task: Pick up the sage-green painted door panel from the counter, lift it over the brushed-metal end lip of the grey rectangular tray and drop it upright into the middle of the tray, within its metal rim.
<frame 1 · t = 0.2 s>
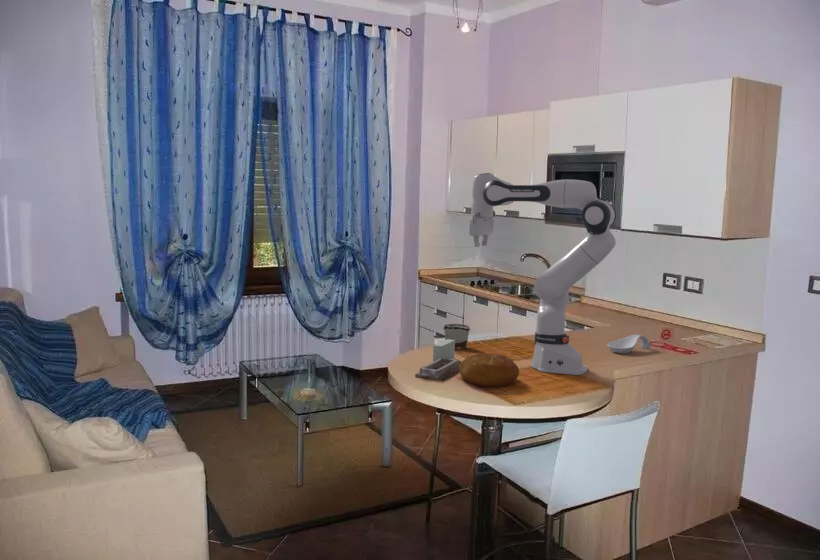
hand: (480, 246, 281), 47 cm above the table, tool pointing down, fingers open, 8 cm apart
bread: (489, 381, 251), on the table
grey rectangular tray: (439, 373, 259), on the table
door panel: (443, 361, 278), on the table
food container: (457, 347, 307), on the table
spoon rest: (629, 351, 307), on the table
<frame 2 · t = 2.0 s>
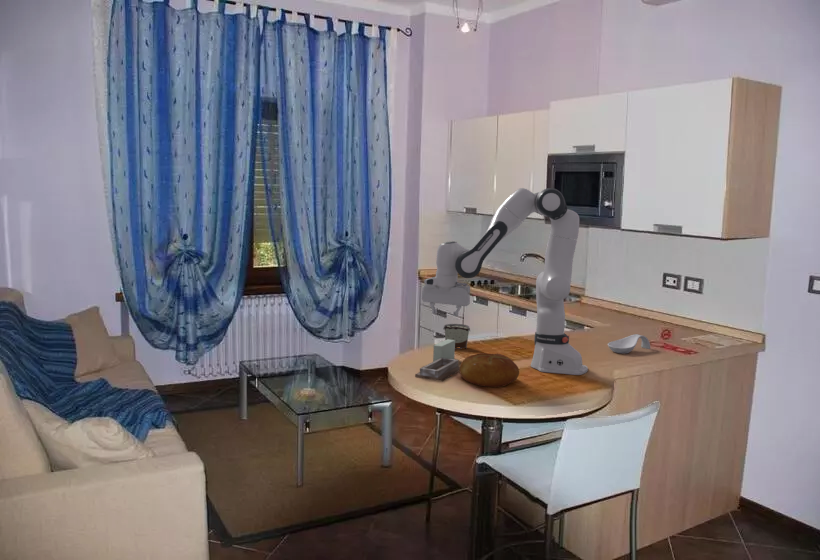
hand: (445, 314, 276), 19 cm above the table, tool pointing down, fingers open, 8 cm apart
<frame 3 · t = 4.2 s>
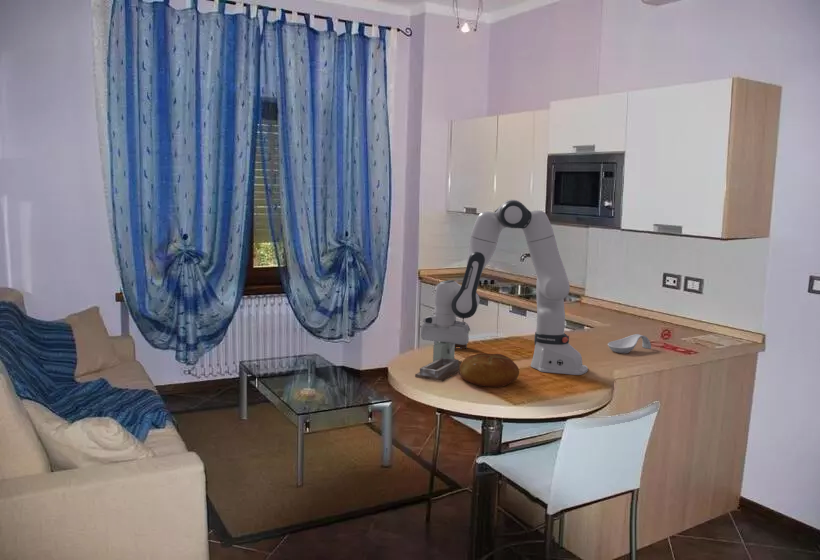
hand: (444, 352, 278), 4 cm above the table, tool pointing down, fingers closed on door panel, 3 cm apart
door panel: (443, 361, 278), on the table, touching gripper
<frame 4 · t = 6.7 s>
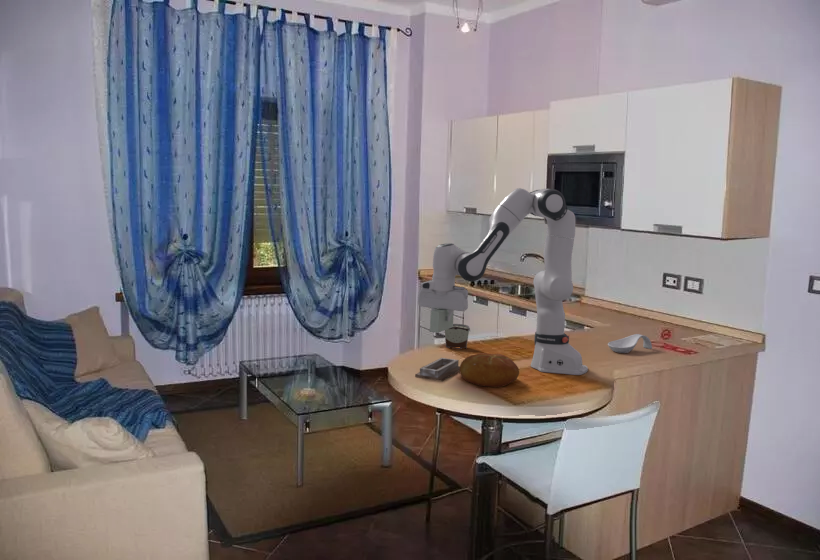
hand: (442, 320, 264), 19 cm above the table, tool pointing down, fingers closed on door panel, 3 cm apart
door panel: (441, 329, 264), point 16 cm above the table, touching gripper
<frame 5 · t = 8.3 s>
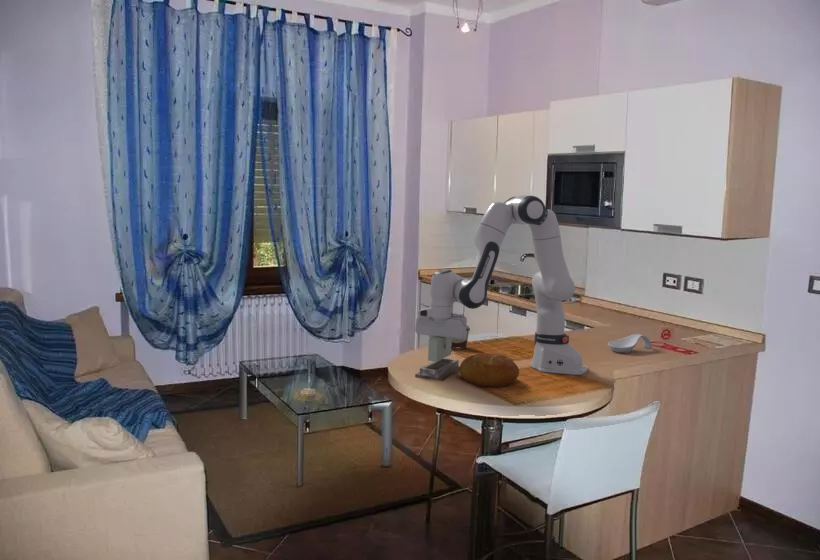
hand: (440, 348, 258), 10 cm above the table, tool pointing down, fingers closed on door panel, 3 cm apart
door panel: (439, 357, 259), point 6 cm above the table, touching gripper
when the fingers open (6 cm above the table, at t = 9.4 s): door panel stays where it is, resting on grey rectangular tray.
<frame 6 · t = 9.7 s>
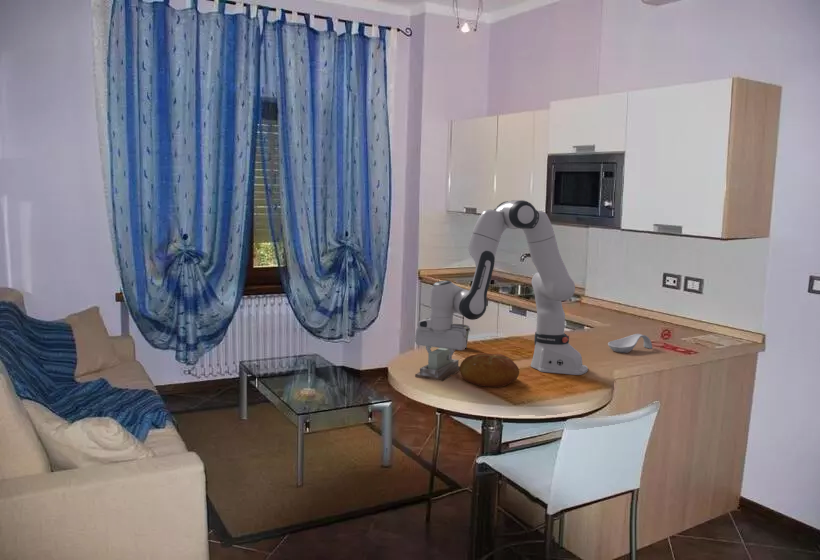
hand: (440, 358, 259), 6 cm above the table, tool pointing down, fingers open, 6 cm apart
door panel: (439, 370, 259), point 1 cm above the table, touching grey rectangular tray
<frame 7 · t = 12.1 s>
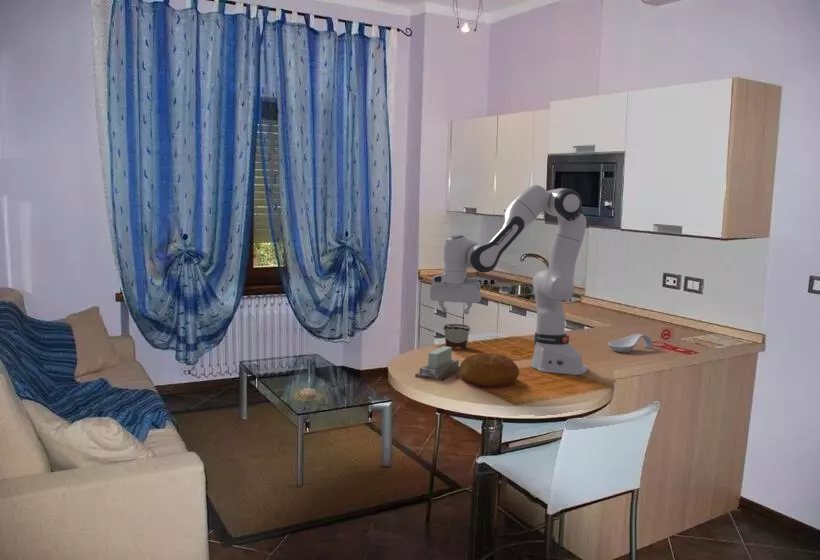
hand: (455, 313, 262), 23 cm above the table, tool pointing down, fingers open, 8 cm apart
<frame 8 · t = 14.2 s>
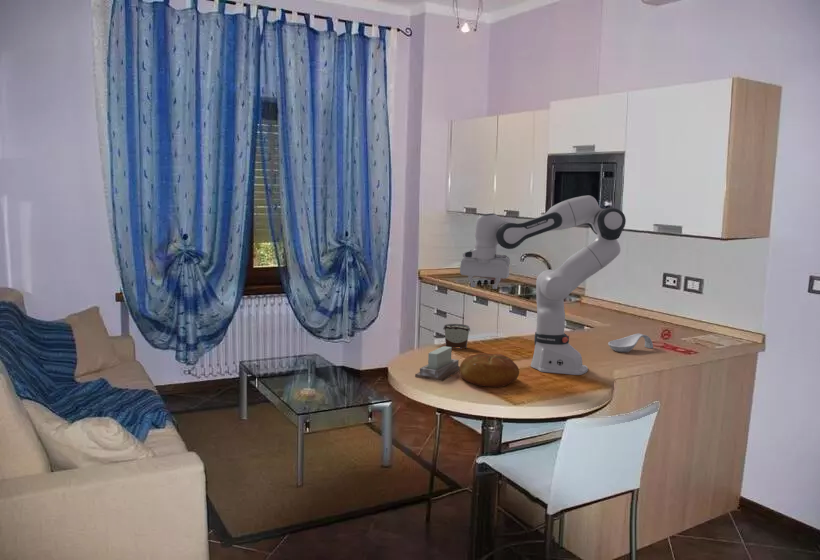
hand: (483, 287, 273), 31 cm above the table, tool pointing down, fingers open, 8 cm apart
at the end: door panel 0.0 cm off-centre on the grey rectangular tray, point 1.0 cm above the grey rectangular tray's base; door panel tilted 0°; the gripper is holding nothing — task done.
